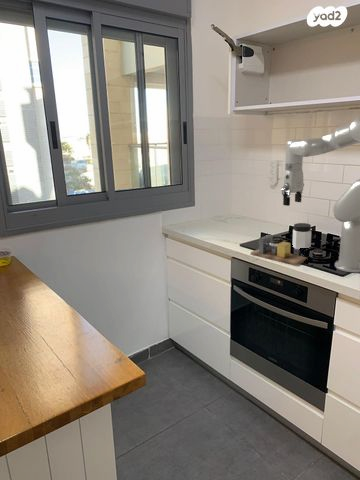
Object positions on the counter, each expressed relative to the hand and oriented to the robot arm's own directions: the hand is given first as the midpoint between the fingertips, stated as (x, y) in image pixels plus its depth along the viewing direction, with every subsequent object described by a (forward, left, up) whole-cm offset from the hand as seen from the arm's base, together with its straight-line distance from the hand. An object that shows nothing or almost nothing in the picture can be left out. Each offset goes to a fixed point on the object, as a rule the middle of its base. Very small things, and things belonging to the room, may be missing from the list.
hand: (292, 203), depth 169 cm
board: (+1, +9, -25) cm, 26 cm away
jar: (0, -11, -25) cm, 27 cm away
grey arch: (+8, +9, -25) cm, 28 cm away
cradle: (+3, +9, -25) cm, 27 cm away
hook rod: (+4, +9, -23) cm, 25 cm away
